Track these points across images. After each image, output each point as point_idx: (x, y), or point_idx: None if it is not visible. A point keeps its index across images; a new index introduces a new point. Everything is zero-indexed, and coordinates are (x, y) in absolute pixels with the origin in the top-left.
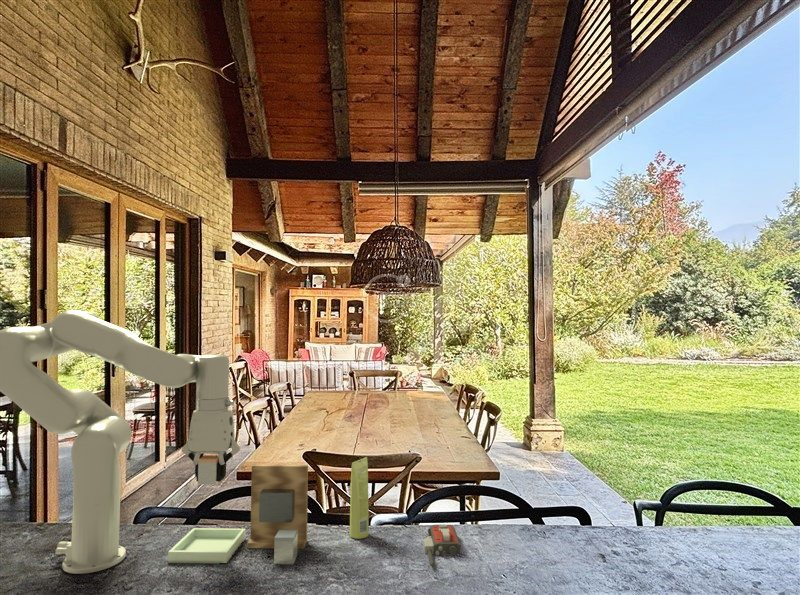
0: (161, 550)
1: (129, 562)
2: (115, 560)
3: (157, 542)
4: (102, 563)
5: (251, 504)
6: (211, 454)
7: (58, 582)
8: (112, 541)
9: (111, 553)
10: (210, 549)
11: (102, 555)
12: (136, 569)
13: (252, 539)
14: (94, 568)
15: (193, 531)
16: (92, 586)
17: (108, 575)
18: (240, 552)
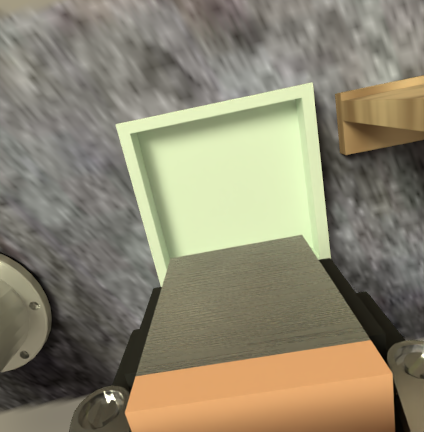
0: (94, 220)
1: (70, 294)
2: (46, 323)
3: (39, 176)
4: (30, 341)
5: (406, 128)
6: (212, 405)
7: (4, 391)
8: (2, 347)
9: (21, 328)
10: (239, 199)
11: (16, 350)
12: (116, 319)
13: (352, 123)
14: (33, 357)
15: (134, 147)
16: (87, 390)
17: (78, 351)
18: (331, 183)
